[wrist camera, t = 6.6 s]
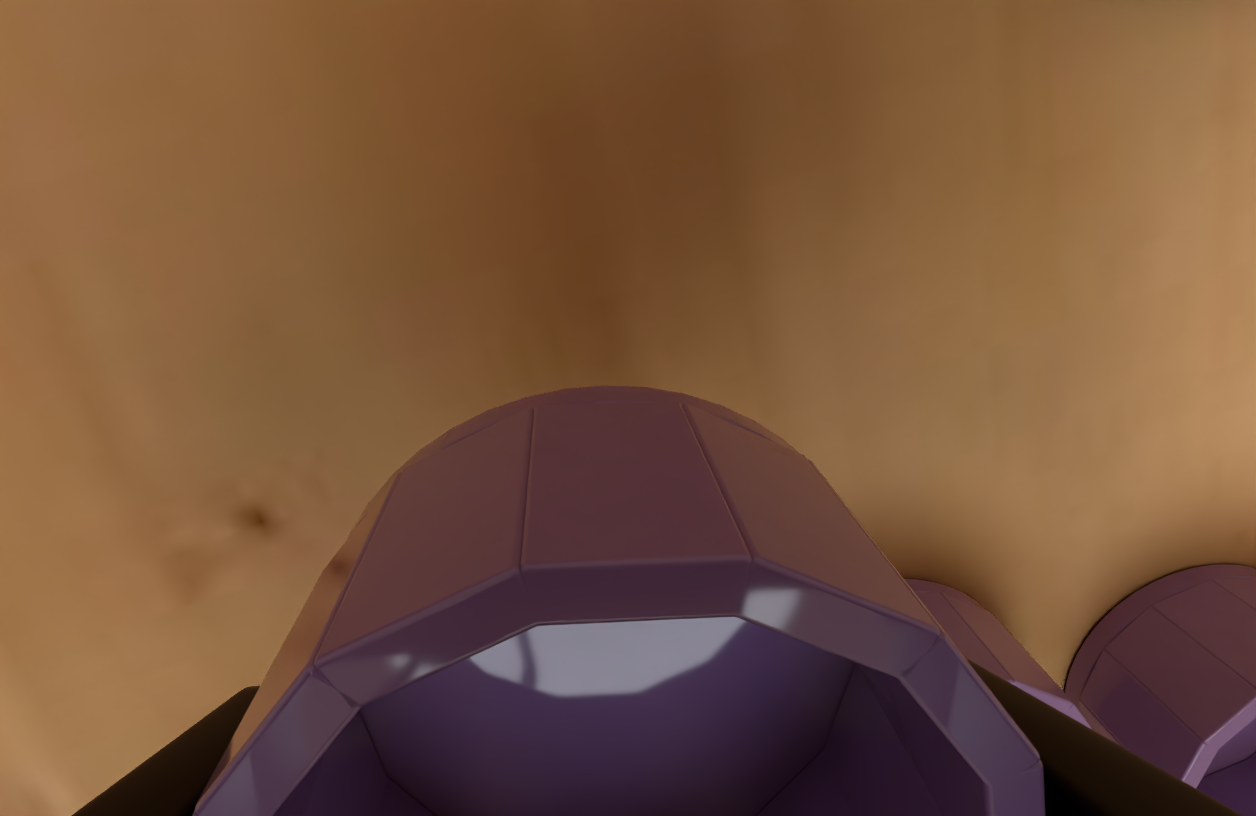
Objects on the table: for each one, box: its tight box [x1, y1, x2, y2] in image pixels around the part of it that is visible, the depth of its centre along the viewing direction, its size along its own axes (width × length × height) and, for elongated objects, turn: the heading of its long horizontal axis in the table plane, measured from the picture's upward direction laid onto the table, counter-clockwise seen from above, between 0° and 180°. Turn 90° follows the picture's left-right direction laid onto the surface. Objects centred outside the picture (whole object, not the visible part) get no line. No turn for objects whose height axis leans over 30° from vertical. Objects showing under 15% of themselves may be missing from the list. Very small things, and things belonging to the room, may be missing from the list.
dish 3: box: [1065, 564, 1256, 816], centre depth 18 cm, size 6×6×4 cm
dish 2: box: [904, 579, 1093, 730], centre depth 17 cm, size 6×6×4 cm
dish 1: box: [192, 386, 1046, 816], centre depth 7 cm, size 6×6×4 cm
